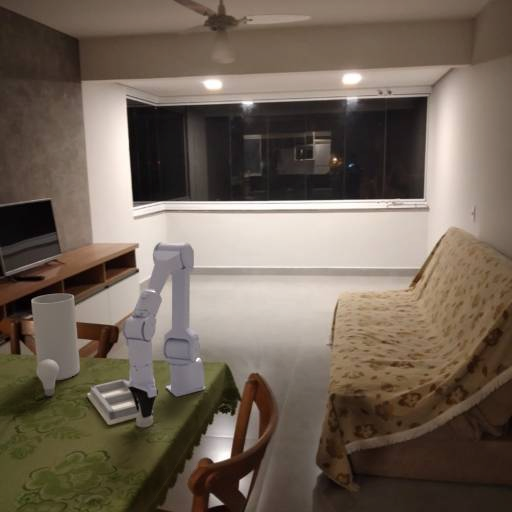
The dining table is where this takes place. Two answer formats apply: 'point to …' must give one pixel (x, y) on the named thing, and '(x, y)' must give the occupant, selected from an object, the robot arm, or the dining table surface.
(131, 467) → the dining table surface
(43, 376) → the lightbulb
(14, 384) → the dining table surface
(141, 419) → the rook chess piece
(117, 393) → the pocket tray
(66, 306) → the cylinder vase
